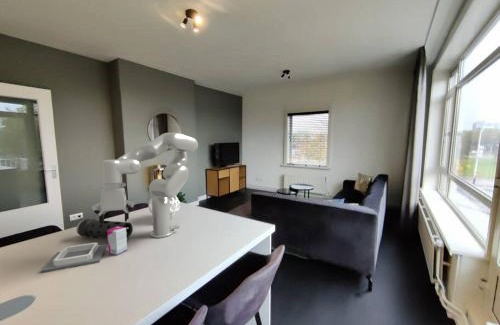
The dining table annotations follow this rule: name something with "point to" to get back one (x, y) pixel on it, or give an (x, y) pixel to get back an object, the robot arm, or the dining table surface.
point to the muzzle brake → (100, 228)
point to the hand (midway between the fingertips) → (114, 222)
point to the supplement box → (117, 240)
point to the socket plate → (75, 257)
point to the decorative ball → (174, 200)
